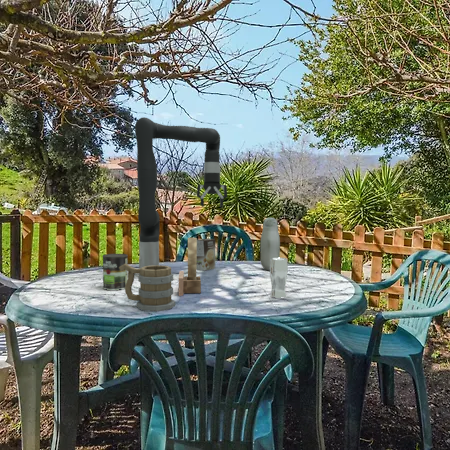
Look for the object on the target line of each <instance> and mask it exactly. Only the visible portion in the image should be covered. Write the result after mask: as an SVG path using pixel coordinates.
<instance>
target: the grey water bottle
mask: <svg viewBox="0 0 450 450" xmlns="http://www.w3.org/2000/svg"><path fill="white" fill-rule="evenodd" d="M280 239H281V238H280V234H279V226H278V220H277V219H276V218H274V217H266V218H265V219H264V220H263V225H262V233H261V236H260V265H261V267H262V268H263V269H264V270H266V271H270V259H271V258H281V257H280V255H281V254H280V253H281V250H280V249H281V240H280Z"/></svg>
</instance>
